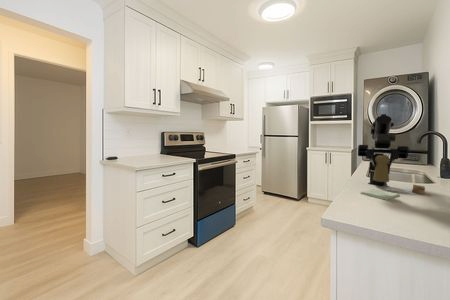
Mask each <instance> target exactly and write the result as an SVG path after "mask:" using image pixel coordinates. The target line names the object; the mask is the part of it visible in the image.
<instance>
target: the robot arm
mask: <svg viewBox="0 0 450 300" xmlns="http://www.w3.org/2000/svg"><path fill="white" fill-rule="evenodd" d="M394 125H395V123H394V122H393V121H392V118H391V117H390V116H388V115H387V114H386V113H383V114H381V115H380V116H377V117H376V118H375V119H374V121H372V123H371V125H370V135H371V138H372V139H373V140H374V147H373V146H369V144H358V146H357V156H358V157H365V158H368V159H369V160H370V161H369V165H368V173H369V175H370V177H369V182H368V183H367V184H368V185H372V186H378V187H383V186H384V187H385V186H387V185H388V184H387V183H388V182H379V181H374V180H373V176H374V172H375V167H376V161H375V158H376V156H380V155H383V156H387V155H390V156H389V159H390V160H389V163H388V173H389V175H390V173H391V172H390V170H391V166H392V164H393V163H394V161H396V160H398V159H404V160H405V159H408V158H409V157H408V156H409V153H410V147H409V146H408V145H397V146H396V148H391V142H393V143H394V142H396V137H397V136H396V133H390V131H391V129H392V128H393V127H394ZM386 154H387V155H386Z"/></svg>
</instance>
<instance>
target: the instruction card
mask: <svg viewBox="0 0 450 300" xmlns="http://www.w3.org/2000/svg"><path fill="white" fill-rule="evenodd" d="M384 190H385V191H386V190H388V191H393V192H397V193H398V192H399V193H405V194H411V195H417V193H412V189H408V188H402V187H397V186H396V187H395V186H389V185H388V186H387V187H385V188H384Z"/></svg>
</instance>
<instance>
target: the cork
mask: <svg viewBox="0 0 450 300" xmlns="http://www.w3.org/2000/svg"><path fill="white" fill-rule="evenodd" d="M375 161H376V167H375V172H374V176H373V180H374V181H379V182H387V183H389V182H390V177H389V176H390V174H389V173H388V163H389V161H390V156H387V155H386V156H383V155H380V156H376V158H375Z"/></svg>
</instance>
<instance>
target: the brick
mask: <svg viewBox="0 0 450 300" xmlns="http://www.w3.org/2000/svg"><path fill="white" fill-rule="evenodd" d="M411 190H412V193H417V194H418V195H425V191H426V187H425V186H424V185H417V184H413V186H412V189H411ZM417 194H416V195H417Z"/></svg>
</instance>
